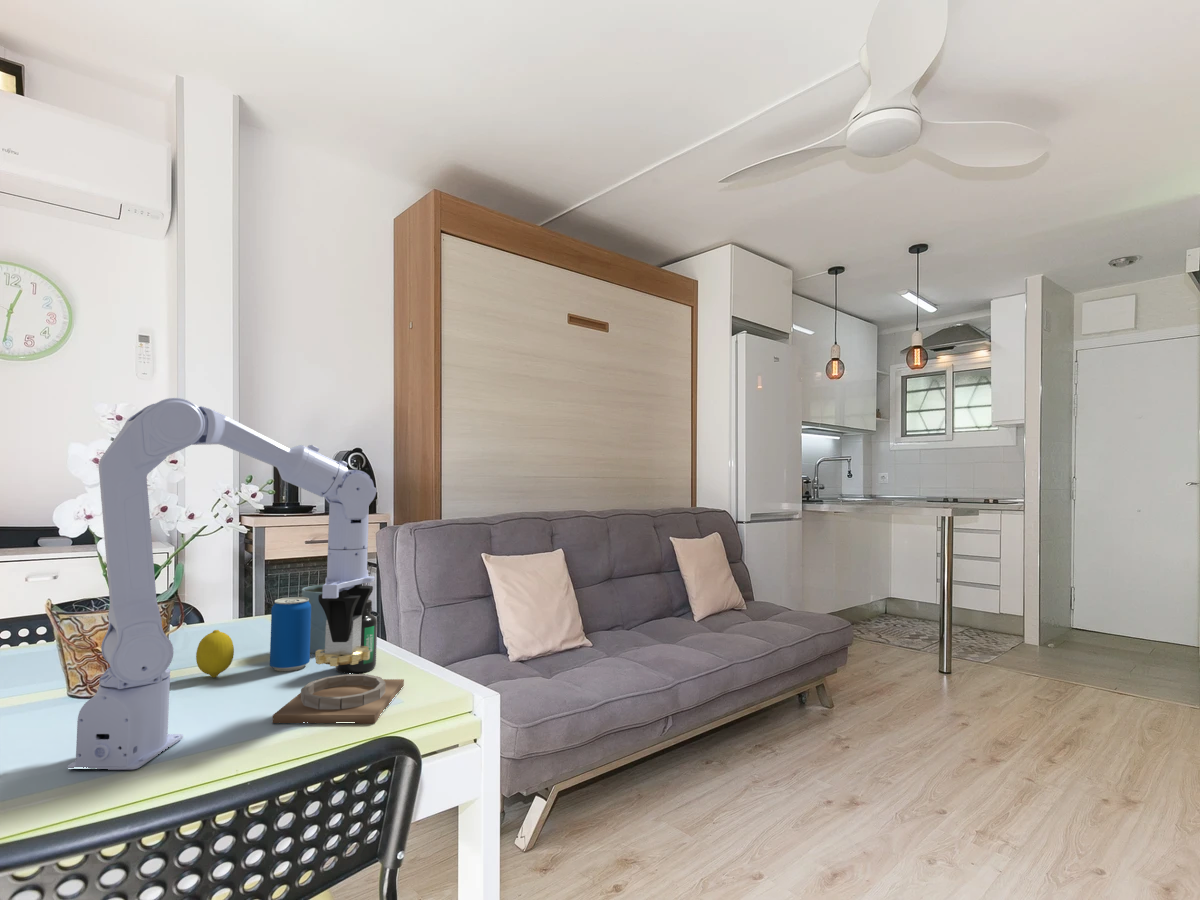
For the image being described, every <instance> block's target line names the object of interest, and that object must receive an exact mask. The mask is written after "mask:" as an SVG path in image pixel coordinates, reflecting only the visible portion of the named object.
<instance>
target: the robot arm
mask: <svg viewBox="0 0 1200 900" xmlns="http://www.w3.org/2000/svg"><path fill="white" fill-rule="evenodd" d="M193 445H194V446H196V445H199V446H200V445H202V446H203V445H206V446H207V445H210V446H211V445H221V446H222V447H226V448H228V449H231V450H233V451H236V452H238V453H240V454H242V455H245V456H248V457H250V458H253V459H255V460H258V461H260V462H263V463H265V464H267V465H270V466H272V467H275V468H276V469H277V471H278V474H279V475H280V478H281V480H282V481H284V482H286V483H288V484H291V485H293V486H296V487H298V488H300V489H303V490H305V491H307V492H309V493H311V494H314V495H316V496H318V497H320V498H324V499H325V501H326V502H327V503H328V504H329V509H328V510H329V511H328V531H327V560H326V563H327V566H326V568H327V569H326V577H325V583H324V584H322V585H323V593H322V594H320V595H319V597H318V600H319V603H320V604H321V606H322V608H323V610H324V612H325V614H326V617H327V620H328V625H329V629H330V634H331V638H332V641H333V642H347V641H348V639H349V635H350V630H351V623H352V617H353V615H362V616H363V612H364V608H365V605H366V603H367V600H368V599H369V598H370V596H371V595H372V593H373V590H374V586H372V585H363V584H366V583H373V582H374V581H375V579H376V577H375V576H374V575H369V569H368V547H369V511H370V510H369V506H370V505H371V503H372V502H373V501H374V499H375V498H376V495H377V489H378V488H376V487H375V485H374V484H375V483H374V481H373V479H372V478H371V476H370V475H369V474H368V473H367V472H365V471H363V470H359V469H349V468H348V467H347V466H348V462H346V461H344V460H339V461H337V460H335V459H333V458H331V457H328V456H326V455H324V454H322V453H320V452H319V451H320V448H319V447H318V446H315V445H313V444H309V445H307V446H305V445H304V444H298V445H296V446H292V447H290V448H289V447H288V446H285V445H283V444H281V443H280V442H278V441H276V440H275V439H272V438H270V437H268V436H266V435H265V434H262V433H260V432H258V431H256V430H255V429H252V428H250V427H248V426H246V425H245V424H243V423H241V422H240V421H237V420H235V419H234V418H231V417H229V416H227V415H225V414H224V413H223V414H222V413H221V412H219V411H216V410H215V409H212V408H209V407H205V406H202V405H199V406H197V405H196V403H193V402H192V401H189V400H188V399H185V398H181V397H169V398H165V399H161V400H159V401H157V402H155V403H151V404H149V405H146V406H145V407H144V408H142V409H141V410H139V411H138V412H136V413H135V414H133V415H132V416H130V417H129V418H128V419H127V420H126V421H125V423H124V425H123V426H122V428H121V429H120V431H119V433H118V434H117V435H116V436H115V438H114V439H113V441H112V442H110V445H109V446H108V447H107V449H106V450H105V452H104V453H102V455H101V458H100V459H99V463H98V474H99V475H98V476H99V485H100V486H99V487H100V498H101V499H100V501H101V511H102V524H103V534H104V535H103V536H104V546H105V548H104V549H105V561H106V572H107V585H108V596H109V607H108V608H109V609H108V612H107V615H108V616H107V617H108V627H107V631H106V633H105V635H104V637H103V639H102V642H101V645H100V647H101V649H100V650H101V655H102V657H103V658H104V660H105V662H107V664H108V665H109V667H108V668H106V670H105V671H104V673H103V674H102V675H101V676H100V677H99V686H98V688H97V691H96V693H95V694H94V696H92V697H91V698H90V699H88V700H87V701H85V703H84V704H83V705H82V706H81V708H80V709H79V712H78V715H77V726H76V727H77V728H76V750H75V760H74V761H73V762H71V763H70V764H68V765H67V769H68V768H74V767H83V768H84V767H86V768H87V767H88V768H97V769H108V771H110V770H111V771H112V770H113V771H115V770H118V771H119V770H120V771H121V770H124V771H127V770H137V769H140V767H142V766H144V765H145V764H147V763H148V762H150V761H151V760H153V759H154V758H156V757H157V756H158V754H159V755H160V754H162V753H163V752H165V751H166V750H167V749H169V748H170V747H172V746H173V745H175V744H176V743H178V742H179V741H181V740H182V739H183V738H184V734H182V733H169V710H170V709H169V708H170V707H169V706H170V684H171V683H170V682H171V669H170V668H169V667H170V665H171V663H172V661H173V657H174V647H173V643H172V642H171V640H170V638H169V637H168V636H167V635H166V633H165V631H164V629H163V623H162V621H163V620H162V615H161V611H160V608H159V604H158V601H157V600H158V599H157V590H156V578H155V577H156V576H155V566H154V565H155V563H154V553H153V538H152V529H151V528H152V526H151V516H150V515H151V514H150V513H151V512H150V503H149V502H150V501H149V490H148V478H147V477H148V474H150V473H151V472H152V471H153V470H154V469H155V468H156V467H158V466H159V465H161V463H162V462H164V461H165V460H166V459H167V457H169V456H170V455H172V454H175V453H177V452H180V451H182V450H183V449H185V448H188V447H190V446H193ZM168 747H169V748H168ZM165 749H166V750H165ZM162 751H163V752H162ZM161 752H162V753H161Z"/></svg>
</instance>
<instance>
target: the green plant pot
mask: <svg viewBox="0 0 1200 900" xmlns="http://www.w3.org/2000/svg"><path fill="white" fill-rule="evenodd" d="M323 585H324V584H317V585H310V586H304V587H303V588H302V589H301V597H306V598H308V599H309V600H308V601H309V603H310V604H311V630H310V655H316V651H317V650H324V649H325V635H326V620H327V617H326V614H325V612H324V610H323V608H322V606H321V604H320V603H319V600H318V597H319V595H320V594H322V593H323Z"/></svg>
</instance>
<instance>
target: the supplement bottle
mask: <svg viewBox="0 0 1200 900" xmlns="http://www.w3.org/2000/svg"><path fill="white" fill-rule="evenodd" d="M372 607H373V601H372V600H371V599H369V598H368V600H367V603H366V605H365V608H364V612H363V616H362V625H361V646H367V647H369V650H370V658H369V659H368V660H362V661H359V662H358V664H354V665H351V664H345V665H338V666H334V667H335V670H336V672H337V673H339V672H340V673H339V674H342V673H345V674H346V673H348V674H349V673H351V674H352V673H359V674H364V673H367V671H368V672H370V671H369V670H371V671H373V670H374V669H375V668H376V666H377V665H376V664H377V644H378V643H377V642H378V638H377V635H378V619H377V618H376V616H375V615H373V614H371V612H372V611H373V608H372ZM373 668H374V669H373ZM363 672H364V673H363ZM346 675H347V674H346Z"/></svg>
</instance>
